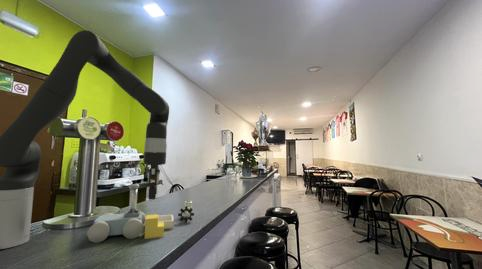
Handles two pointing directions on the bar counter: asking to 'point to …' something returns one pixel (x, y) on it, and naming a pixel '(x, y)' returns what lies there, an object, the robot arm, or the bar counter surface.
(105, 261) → the bar counter surface
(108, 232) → the trolley
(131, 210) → the pin
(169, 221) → the tray
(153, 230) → the block
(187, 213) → the valve
